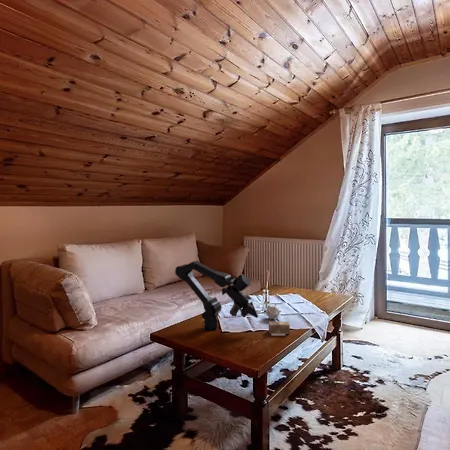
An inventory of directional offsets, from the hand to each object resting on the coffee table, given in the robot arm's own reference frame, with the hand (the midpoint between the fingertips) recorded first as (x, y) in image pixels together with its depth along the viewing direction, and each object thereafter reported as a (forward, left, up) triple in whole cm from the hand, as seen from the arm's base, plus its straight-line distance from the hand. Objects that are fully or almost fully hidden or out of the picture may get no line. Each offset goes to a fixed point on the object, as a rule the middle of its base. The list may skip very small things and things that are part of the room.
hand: (257, 317), depth 178 cm
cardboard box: (+6, 0, -5) cm, 8 cm away
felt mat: (+10, 0, -8) cm, 13 cm away
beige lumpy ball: (+10, +19, -8) cm, 23 cm away
